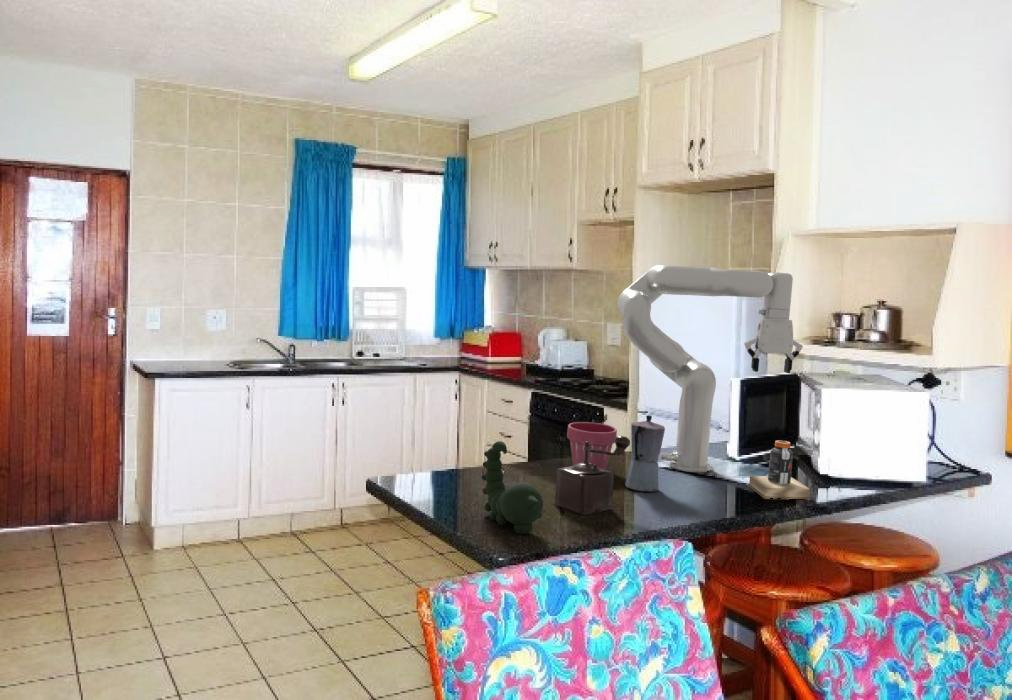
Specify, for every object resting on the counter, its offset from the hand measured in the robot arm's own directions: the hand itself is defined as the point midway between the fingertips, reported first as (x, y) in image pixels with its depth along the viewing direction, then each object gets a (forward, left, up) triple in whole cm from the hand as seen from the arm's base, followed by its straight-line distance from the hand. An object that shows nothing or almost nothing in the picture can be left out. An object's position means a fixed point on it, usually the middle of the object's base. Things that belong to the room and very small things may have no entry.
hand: (771, 371), depth 261 cm
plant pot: (-54, -5, -30) cm, 62 cm away
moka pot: (-43, -24, -30) cm, 58 cm away
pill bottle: (-5, -24, -27) cm, 37 cm away
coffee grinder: (-60, -41, -30) cm, 79 cm away
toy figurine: (-82, -57, -30) cm, 104 cm away
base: (-5, -24, -30) cm, 39 cm away
